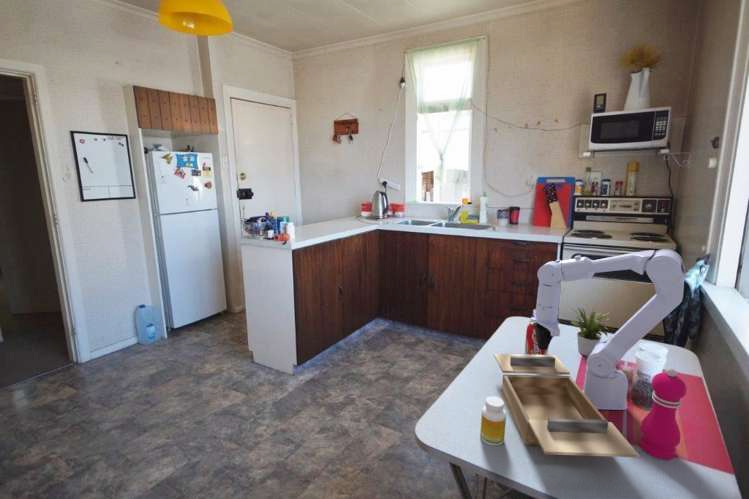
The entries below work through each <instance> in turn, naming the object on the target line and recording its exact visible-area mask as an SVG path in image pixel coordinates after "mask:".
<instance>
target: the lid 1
mask: <svg viewBox="0 0 749 499" xmlns="http://www.w3.org/2000/svg"><path fill="white" fill-rule="evenodd" d="M493 357H494V359H495V361H496V362H497V364H498V367H499V369H500V370H501V372H502V373H504V374H528V375H529V374H531V375H538V374H539V375H568V376H570V375H571V372H570V371H569V370H568V369H567V367H566V366H565V364H563V363H562V361H561V360H560V359H559V358H558V356H557V355H555V354H547V355H529V354H525V353H524V354H523V353H521V354H520V353H519V354H518V353H493Z"/></svg>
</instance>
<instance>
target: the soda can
mask: <svg viewBox="0 0 749 499" xmlns="http://www.w3.org/2000/svg"><path fill="white" fill-rule="evenodd" d="M533 323H537V322H532V321H531V320H530V321H529V323H528V324H527V325H526V326H527V327H526V331H525V332H526V333H525V342H524V354H529V355H549V354H548V353H549V348H550V345H549V346H548V349H547V350H540V349H539V348H538V344H537V336H536V332H535V329H534V326H533Z"/></svg>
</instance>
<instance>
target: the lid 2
mask: <svg viewBox="0 0 749 499" xmlns="http://www.w3.org/2000/svg"><path fill="white" fill-rule="evenodd" d="M606 420H607V419H606ZM606 420H589V419H556V418H548V420H528V423H529V424H530V426H531V428H532V430H533V432H534V434H535V436H536V438H537V440H538V442H539V444H540V446H539V447H540V448H541V450H542V451H543V453H544V455H557V456H558V455H559V456H583V457H586V456H591V457H619V458H622V457H623V458H639V455H640V454H639V453H638V452H637V451H636V450H635V449H634V447H633V446H632V445H631V444H630V443H629V441H628V440H627V438H625V437H624V436H623V434H622V433H621V432H620V431H619V429H618V428H617V427H616V426H615V424H614V423H613V422H612V421H608V420H607V421H606Z"/></svg>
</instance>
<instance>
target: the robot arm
mask: <svg viewBox="0 0 749 499" xmlns="http://www.w3.org/2000/svg"><path fill="white" fill-rule="evenodd" d="M624 270H625V271H627V270H631V271H632V272H635V273H637V274H639V275H640V276H642V275H644V273H645V272H646V275H647V276H648V278H649V279H650V280H651V282H652V283H653V286H654V287H653V288H654V290H655V294H654V295H653V296H652V297H651V298H650V299H649V300H648V301H647V302H646V303H645V304H643V305H642V307H641V308H640V309H639V310H637V311H636V312H635V313H634V314H633V315H632V316H631V317H630V318H629V319H628V320H627V321H626V322H625V323H624V324H623V325H622V326H621V327H620V328H618V330H616V332H614V334H612V335H610V336H609V337H607V339H605V340H603V341H600V342H599V343H597V344H596V345H595V346H594V348H593V351H592V353H591V354H590V356H587V358H586V369H585V375H584V383H583V390H582V389H581V390H582V391H583V392H584V394H585V395H586V396H587V397H588V399H589V400H590V401H591V402H592V403H593V405H594V406H595V407H596V408H597V410H614V411H627V407H626V402H627V395H628V390H629V382H628V378H627V376H626V374H625V373H624V372H623V371H622V370H618V369H617V368H616V366H617V364H618V363H620V361H622V358H624V356H625V355H626V354H627V352H628V351H630V349H632V348H633V347H634V346H635V345H636V344H637V343H638V342H639V341H641V339H643V338H644V337H645V336H646V335H647V334H648V333H649V332H651V330H653V329H654V328H655V327H656V326H658V324H659V323H661V321H662V320H664V318H666V317H667V316H668V315H669V314H671V312H673V310H675V308H677V307H678V306H680V304H681V303H682V302H683V298H684V289H685V287H684V286H685V276H686V275H685V273H686V267H685V265H684V262H683V258H682V256H681V255H680V254H679V253H678V252H677V251H675V250H672V249H668V248H662V249H659V250H656V251H655V250H653V249H652V250H641V251H636V252H635V251H633V252H630V253H626V254H620V255H615V256H610V257H609V256H608V257H605V258H600V259H599V258H598V259H595V260H593V259H591V258H589V257H587V256H582V255H581V254H579V255H575V256H574V257H573V258H570V259H565V260H561V259H560V258H559V259H556V260H555V261H554V260H553V261H548V262H546V263H545V264H543V265H541V266H540V267H539V268H538V270H537V275H536V276H537V279H538V288H537V297H536V305H535V306H536V307H535V309H533V310H532V316H530V321H532V322H537V323H533V326H534V329H535V332H536V336H537V344H538V348H539V349H540V350H547V349H548V350H549V347H550V343H551V341H552V339H553V338H554V337H560V334H561V329H560V327H559V321H558V317H559V316H558V315H559V306H560V301H561V300H560V299H561V291H562V290H561V288H562V282H563V283H564V282H572V281H573V282H574V281H575V282H576V281H580V280H589V279H591V278H592V277H594V275H595V274H597V273H605V272H606V273H607V272H614V271H624ZM548 346H549V347H548Z"/></svg>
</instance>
